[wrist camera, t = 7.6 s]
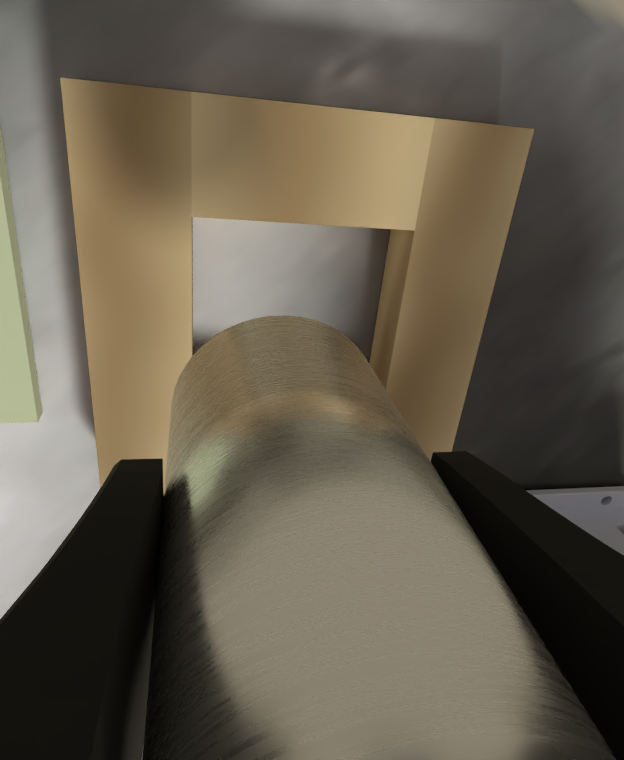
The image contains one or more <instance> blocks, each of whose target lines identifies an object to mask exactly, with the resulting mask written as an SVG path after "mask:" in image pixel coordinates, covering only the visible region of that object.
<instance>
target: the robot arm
mask: <svg viewBox="0 0 624 760" xmlns="http://www.w3.org/2000/svg"><path fill="white" fill-rule="evenodd" d="M431 463H432V465H433V467H434V468H435V470H436V471H437V473H438V475H439V476H440V478H441V479H442V481H443V483H444V484H445V486H446V487H447V489H448V491H449V492H450V494H451V495H452V497H453V499H454V500H455V502H456V503H457V505H458V507H459V508H460V510H461V511H462V513H463V515H464V516H465V518H466V519H467V521H468V523H469V524H470V526H471V527H472V529H473V531H474V532H475V534H476V535H477V537H478V539H479V540H480V542H481V543H482V545H483V547H484V548H485V550H486V551H487V553H488V555H489V556H490V558H491V559H492V561H493V563H494V564H495V566H496V567H497V569H498V571H499V572H500V574H501V575H502V577H503V579H504V580H505V582H506V583H507V585H508V587H509V588H510V590H511V591H512V593H513V595H514V596H515V598H516V599H517V601H518V603H519V604H520V606H521V607H522V609H523V611H524V612H525V614H526V615H527V617H528V619H529V620H530V622H531V623H532V625H533V627H534V628H535V630H536V631H537V633H538V635H539V636H540V638H541V639H542V641H543V643H544V644H545V646H546V647H547V649H548V651H549V652H550V654H551V655H552V657H553V659H554V660H555V662H556V663H557V665H558V667H559V668H560V670H561V671H562V673H563V675H564V676H565V678H566V679H567V681H568V683H569V684H570V686H571V687H572V689H573V691H574V692H575V694H576V695H577V697H578V698H579V700H580V702H581V703H582V705H583V706H584V708H585V710H586V711H587V713H588V714H589V716H590V718H591V719H592V721H593V722H594V724H595V726H596V727H597V729H598V730H599V732H600V734H601V735H602V737H603V738H604V740H605V742H606V743H607V745H608V746H609V748H610V750H611V751H612V753H613V754H614V756H615V758H616V759H617V760H624V486H617V487H594V488H571V489H548V490H524V489H523V488H521V487H520V486H518V485H517V484H516V483H514V482H513V481H511V480H510V479H508V478H507V477H505V476H504V475H502V474H501V473H499V472H498V471H496V470H495V469H493V468H492V467H490V466H489V465H487V464H486V463H484V462H483V461H481V460H479V459H478V458H476V457H475V456H473V455H471V454H469V453H468V452H466V451H463V452H433V454H432V458H431ZM163 501H164V492H163V459H121V460H120V461H119V462H118V463H117V464H115V465H114V466H113V468H112V470H111V472H110V474H109V475H108V477H107V479H106V480H105V482H104V483H103V485H102V487H101V488H100V490H99V491H98V493H97V495H96V496H95V498H94V499H93V501H92V502H91V504H90V505H89V506H88V508H87V509H86V511H85V512H84V514H83V515H82V517H81V518H80V520H79V521H78V522H77V524H76V525H75V526H74V528H73V529H72V530H71V532H70V533H69V534H68V536H67V537H66V539H65V540H64V541H63V543H62V544H61V545H60V547H59V548H58V549H57V551H56V552H55V553H54V555H53V556H52V557H51V559H50V560H49V561H48V563H47V564H46V565H45V566H44V568H43V569H42V570H41V571H40V573H39V574H38V575H37V576H36V577H35V579H34V580H33V581H32V582H31V583H30V585H29V586H28V587H27V588H26V589H25V591H24V592H23V593H22V594H21V595H20V597H19V598H18V599H17V600H16V601H15V602H14V604H13V605H12V606H11V607H10V608H9V610H8V611H7V612H6V613H5V614H4V616H3V617H2V618H1V619H0V760H141V758H142V751H143V745H144V736H145V723H146V711H147V699H148V686H149V674H150V662H151V649H152V637H153V624H154V612H155V600H156V587H157V575H158V563H159V550H160V538H161V526H162V513H163Z"/></svg>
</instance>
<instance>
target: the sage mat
mask: <svg viewBox="0 0 624 760" xmlns="http://www.w3.org/2000/svg"><path fill="white" fill-rule="evenodd" d="M41 415H42V406H41V399H40V392H39V386H38V379H37V372H36V365H35V358H34V352H33V345H32V338H31V331H30V324H29V318H28V311H27V304H26V297H25V290H24V284H23V277H22V270H21V263H20V256H19V250H18V243H17V236H16V229H15V222H14V216H13V209H12V202H11V195H10V188H9V182H8V175H7V168H6V161H5V155H4V148H3V141H2V134H1V127H0V423H23V422H38V421H39V419H40V417H41Z"/></svg>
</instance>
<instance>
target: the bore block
mask: <svg viewBox="0 0 624 760" xmlns="http://www.w3.org/2000/svg"><path fill="white" fill-rule="evenodd" d="M60 81H61V91H62V102H63V112H64V122H65V132H66V142H67V152H68V163H69V173H70V183H71V193H72V203H73V213H74V224H75V234H76V244H77V254H78V264H79V274H80V285H81V295H82V305H83V315H84V325H85V335H86V346H87V356H88V366H89V376H90V386H91V396H92V407H93V417H94V427H95V437H96V447H97V457H98V468H99V478H100V488H101V487H102V485H103V483H104V482H105V480H106V479H107V477H108V475H109V474H110V472H111V470H112V468H113V466H114V465H115V464H117V463H118V462H119V461H120V460H121V459H163V492H164V489H165V476H166V464H167V452H168V439H169V427H170V415H171V402H172V397H173V392H174V388H175V386H176V383H177V381H178V378H179V376H180V374H181V372H182V370H183V369H184V367H185V365H186V364H187V363H188V361H189V360H190V359H191V357H192V356H193V251H192V217H204V218H220V219H236V220H252V221H268V222H284V223H300V224H316V225H332V226H348V227H364V228H380V229H391V231H390V238H389V244H388V250H387V256H386V263H385V269H384V275H383V281H382V288H381V294H380V300H379V306H378V312H377V319H376V325H375V331H374V337H373V344H372V350H371V356H370V362H369V364H370V366H371V367H372V369H373V371H374V372H375V374H376V375H377V377H378V379H379V380H380V382H381V383H382V385H383V387H384V388H385V390H386V391H387V393H388V395H389V396H390V398H391V399H392V401H393V403H394V404H395V406H396V407H397V409H398V411H399V412H400V414H401V415H402V417H403V419H404V420H405V422H406V423H407V425H408V427H409V428H410V430H411V431H412V433H413V435H414V436H415V438H416V439H417V441H418V443H419V444H420V446H421V447H422V449H423V451H424V452H425V454H426V455H427V457H428V459H429V460H430V462H431V458H432V454H433V452H452V448H453V444H454V440H455V436H456V432H457V429H458V425H459V421H460V417H461V413H462V409H463V405H464V401H465V397H466V394H467V390H468V386H469V382H470V378H471V374H472V370H473V366H474V362H475V359H476V355H477V351H478V347H479V343H480V339H481V335H482V331H483V327H484V323H485V320H486V316H487V312H488V308H489V304H490V300H491V296H492V292H493V288H494V285H495V281H496V277H497V273H498V269H499V265H500V261H501V257H502V253H503V250H504V246H505V242H506V238H507V234H508V230H509V226H510V222H511V218H512V215H513V211H514V207H515V203H516V199H517V195H518V191H519V187H520V183H521V179H522V176H523V172H524V168H525V164H526V160H527V156H528V152H529V148H530V144H531V141H532V137H533V133H534V129H530V128H522V127H513V126H505V125H496V124H487V123H477V122H468V121H459V120H450V119H440V118H431V117H422V116H413V115H404V114H394V113H385V112H376V111H367V110H357V109H348V108H339V107H330V106H320V105H311V104H302V103H293V102H284V101H274V100H265V99H256V98H247V97H237V96H228V95H219V94H210V93H200V92H191V91H182V90H173V89H163V88H154V87H145V86H136V85H127V84H117V83H108V82H99V81H90V80H80V79H70V78H60Z"/></svg>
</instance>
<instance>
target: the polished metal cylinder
mask: <svg viewBox="0 0 624 760" xmlns="http://www.w3.org/2000/svg"><path fill="white" fill-rule="evenodd" d="M143 760H617V759H616V758H615V756H614V754H613V753H612V751H611V750H610V748H609V746H608V745H607V743H606V742H605V740H604V738H603V737H602V735H601V734H600V732H599V730H598V729H597V727H596V726H595V724H594V722H593V721H592V719H591V718H590V716H589V714H588V713H587V711H586V710H585V708H584V706H583V705H582V703H581V702H580V700H579V698H578V697H577V695H576V694H575V692H574V691H573V689H572V687H571V686H570V684H569V683H568V681H567V679H566V678H565V676H564V675H563V673H562V671H561V670H560V668H559V667H558V665H557V663H556V662H555V660H554V659H553V657H552V655H551V654H550V652H549V651H548V649H547V647H546V646H545V644H544V643H543V641H542V639H541V638H540V636H539V635H538V633H537V631H536V630H535V628H534V627H533V625H532V623H531V622H530V620H529V619H528V617H527V615H526V614H525V612H524V611H523V609H522V607H521V606H520V604H519V603H518V601H517V599H516V598H515V596H514V595H513V593H512V591H511V590H510V588H509V587H508V585H507V583H506V582H505V580H504V579H503V577H502V575H501V574H500V572H499V571H498V569H497V567H496V566H495V564H494V563H493V561H492V559H491V558H490V556H489V555H488V553H487V551H486V550H485V548H484V547H483V545H482V543H481V542H480V540H479V539H478V537H477V535H476V534H475V532H474V531H473V529H472V527H471V526H470V524H469V523H468V521H467V519H466V518H465V516H464V515H463V513H462V511H461V510H460V508H459V507H458V505H457V503H456V502H455V500H454V499H453V497H452V495H451V494H450V492H449V491H448V489H447V487H446V486H445V484H444V483H443V481H442V479H441V478H440V476H439V475H438V473H437V471H436V470H435V468H434V467H433V465H432V463H431V462H430V460H429V459H428V457H427V455H426V454H425V452H424V451H423V449H422V447H421V446H420V444H419V443H418V441H417V439H416V438H415V436H414V435H413V433H412V431H411V430H410V428H409V427H408V425H407V423H406V422H405V420H404V419H403V417H402V415H401V414H400V412H399V411H398V409H397V407H396V406H395V404H394V403H393V401H392V399H391V398H390V396H389V395H388V393H387V391H386V390H385V388H384V387H383V385H382V383H381V382H380V380H379V379H378V377H377V375H376V374H375V372H374V371H373V369H372V367H371V366H370V364H369V363H368V361H367V359H366V358H365V356H364V355H363V354H362V352H361V351H360V350H359V348H358V347H357V346H356V345H355V344H354V343H353V342H352V341H351V340H350V339H349V338H347V337H346V336H345V335H343V334H342V333H340V332H339V331H337V330H336V329H334V328H332V327H330V326H328V325H326V324H323V323H321V322H318V321H315V320H311V319H307V318H303V317H295V316H268V317H262V318H256V319H252V320H249V321H245V322H242V323H239V324H237V325H235V326H232V327H230V328H228V329H226V330H224V331H222V332H221V333H219V334H217V335H216V336H214V337H213V338H212V339H210V340H209V341H208V342H206V343H205V344H204V345H203V346H202V347H201V348H200V349H199V350H198V351H197V352H196V353H195V354H194V355H193V356H192V357H191V359H190V360H189V361H188V363H187V364H186V365H185V367H184V369H183V370H182V372H181V374H180V376H179V378H178V381H177V383H176V386H175V388H174V392H173V397H172V402H171V415H170V427H169V439H168V452H167V464H166V476H165V489H164V501H163V513H162V526H161V538H160V550H159V563H158V575H157V587H156V600H155V612H154V624H153V637H152V649H151V662H150V674H149V686H148V699H147V711H146V723H145V736H144V748H143Z"/></svg>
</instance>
